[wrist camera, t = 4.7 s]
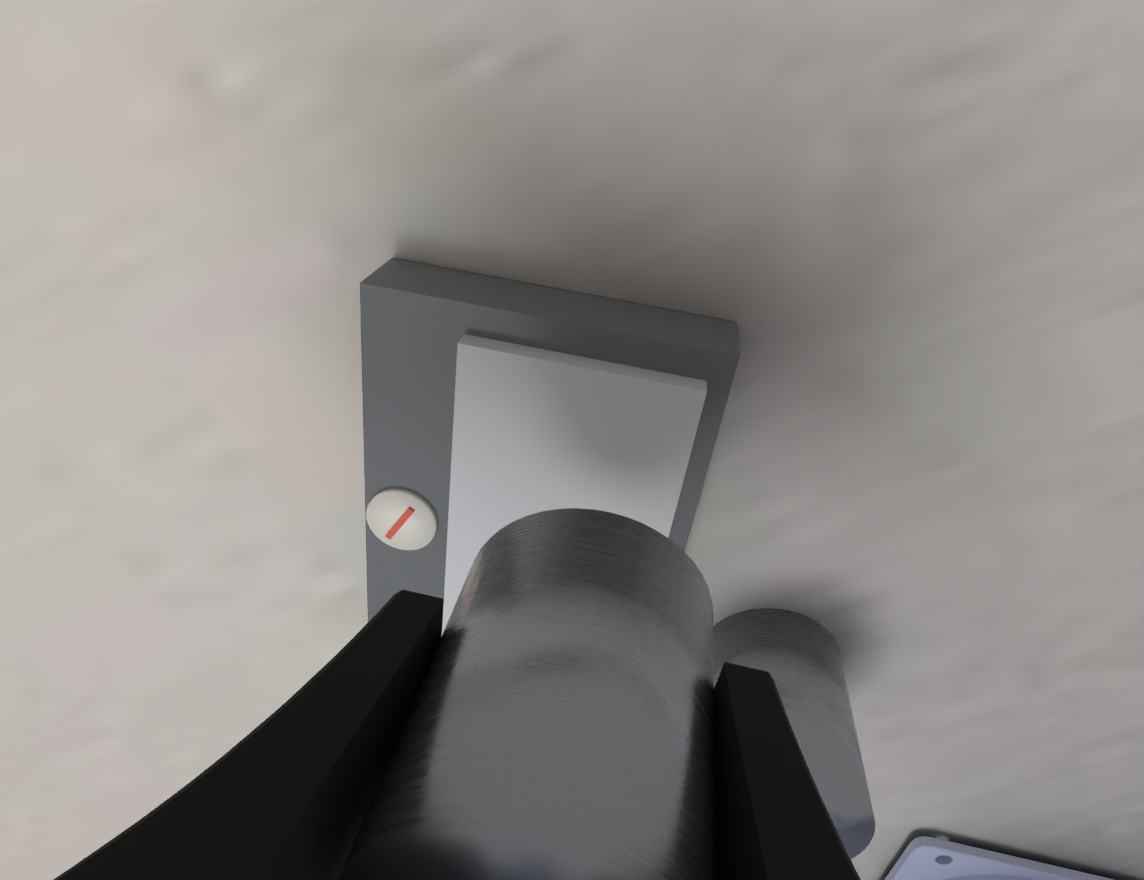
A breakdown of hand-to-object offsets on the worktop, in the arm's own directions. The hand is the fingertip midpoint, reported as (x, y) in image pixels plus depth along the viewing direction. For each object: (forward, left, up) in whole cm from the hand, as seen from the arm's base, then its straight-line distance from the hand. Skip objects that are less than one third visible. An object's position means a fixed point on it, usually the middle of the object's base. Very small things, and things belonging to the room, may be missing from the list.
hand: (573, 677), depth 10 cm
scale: (+2, +3, -8) cm, 9 cm away
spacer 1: (0, 0, -2) cm, 2 cm away
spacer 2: (-6, +7, -8) cm, 13 cm away
